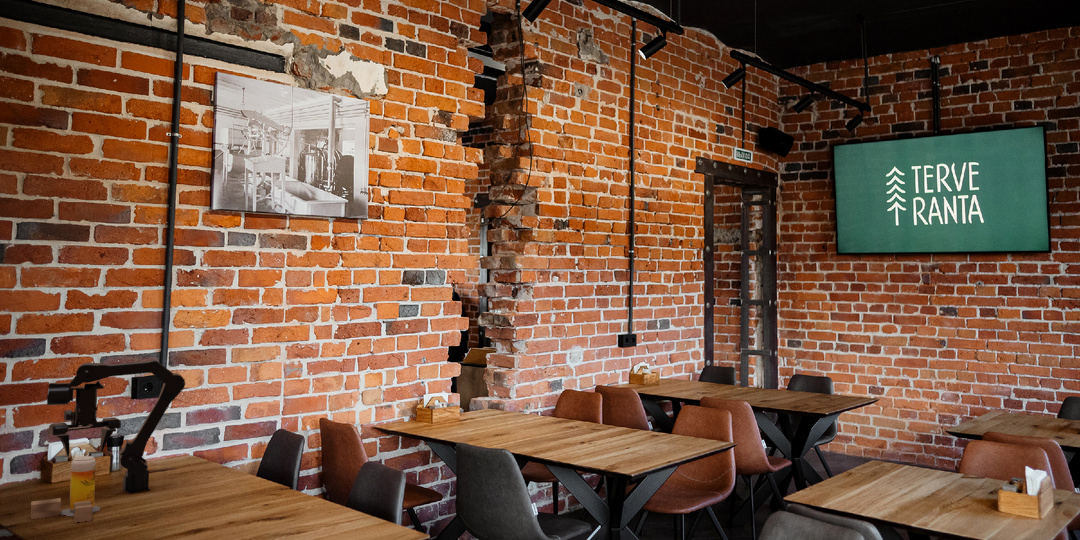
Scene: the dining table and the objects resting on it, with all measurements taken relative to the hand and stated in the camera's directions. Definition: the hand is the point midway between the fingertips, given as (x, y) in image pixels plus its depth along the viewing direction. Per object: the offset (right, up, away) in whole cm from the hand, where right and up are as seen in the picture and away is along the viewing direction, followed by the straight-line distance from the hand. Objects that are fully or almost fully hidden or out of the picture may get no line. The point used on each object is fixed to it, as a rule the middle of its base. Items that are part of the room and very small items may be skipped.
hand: (84, 453), depth 238 cm
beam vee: (+8, -13, -18) cm, 24 cm away
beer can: (+8, -13, -15) cm, 22 cm away
